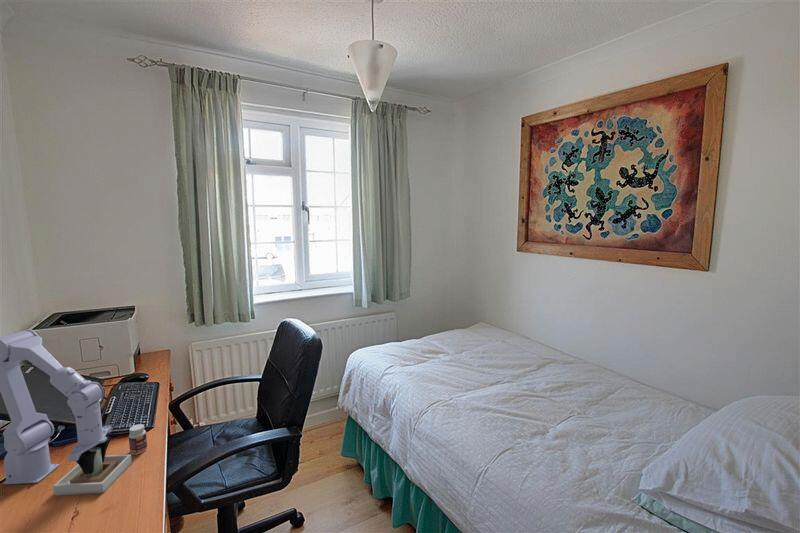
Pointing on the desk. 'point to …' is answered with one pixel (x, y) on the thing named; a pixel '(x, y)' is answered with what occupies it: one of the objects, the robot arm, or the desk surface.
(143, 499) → the desk surface
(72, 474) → the tray
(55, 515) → the desk surface
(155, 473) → the desk surface
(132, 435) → the pill bottle
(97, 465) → the peg
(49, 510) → the desk surface
